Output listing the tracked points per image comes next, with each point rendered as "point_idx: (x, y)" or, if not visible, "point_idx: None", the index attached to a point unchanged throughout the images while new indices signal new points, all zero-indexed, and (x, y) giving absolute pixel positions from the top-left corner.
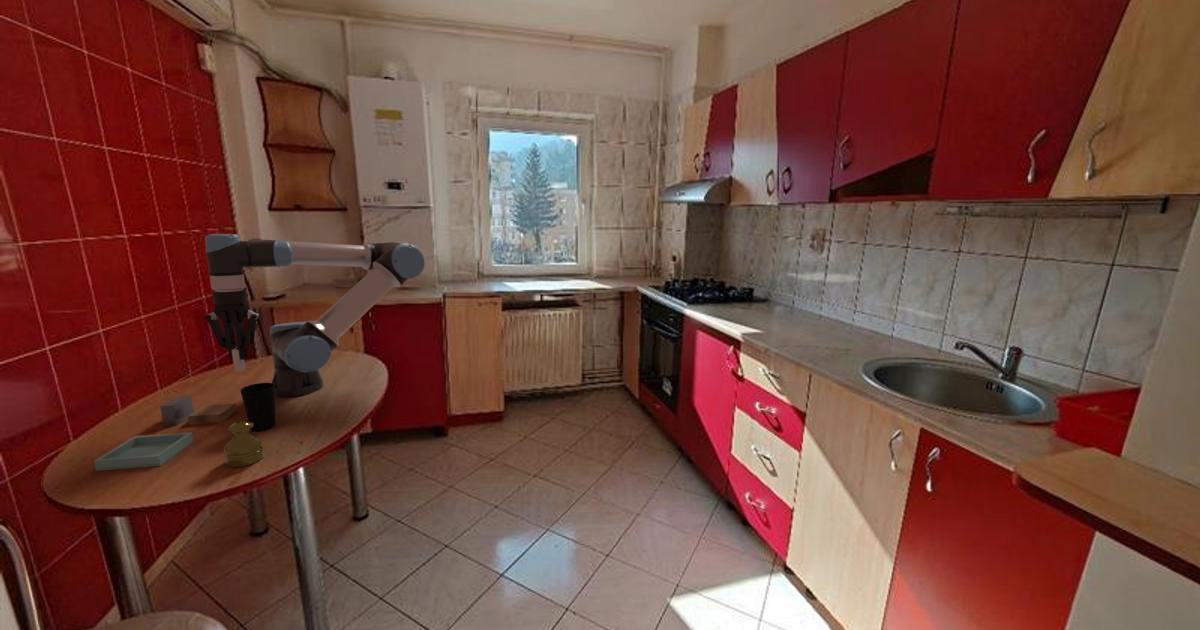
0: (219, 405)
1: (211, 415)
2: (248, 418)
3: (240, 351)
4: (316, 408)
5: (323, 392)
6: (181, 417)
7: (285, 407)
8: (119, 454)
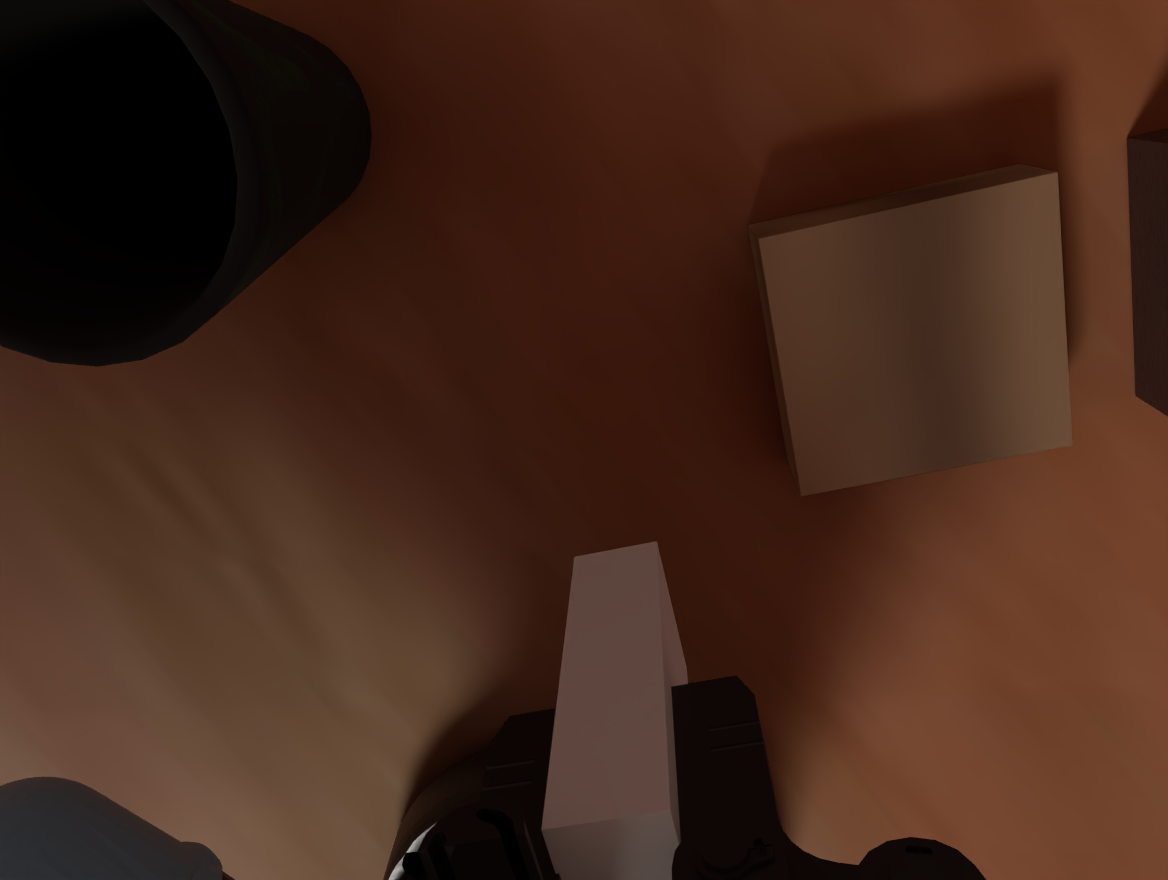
0: (917, 442)
1: (835, 219)
2: (273, 21)
3: (534, 831)
4: (155, 548)
5: (351, 844)
6: (1152, 232)
7: (428, 559)
8: None
